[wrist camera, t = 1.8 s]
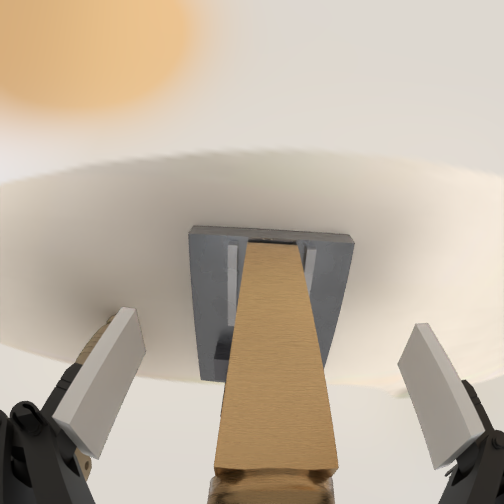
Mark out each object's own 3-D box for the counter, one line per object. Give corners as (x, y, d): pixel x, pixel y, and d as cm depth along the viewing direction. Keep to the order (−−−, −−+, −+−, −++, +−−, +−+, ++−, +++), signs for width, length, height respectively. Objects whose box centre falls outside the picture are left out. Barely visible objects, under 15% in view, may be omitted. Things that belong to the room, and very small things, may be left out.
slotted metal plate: (203, 368, 26) (191, 422, 20) (193, 225, 20) (165, 270, 14) (316, 374, 26) (324, 429, 20) (349, 234, 20) (379, 281, 14)
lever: (242, 287, 20) (210, 524, 6) (244, 239, 19) (198, 503, 5) (295, 290, 20) (319, 526, 6) (301, 242, 18) (353, 502, 4)
